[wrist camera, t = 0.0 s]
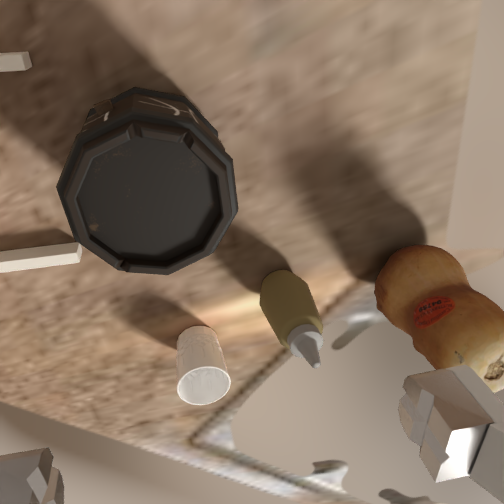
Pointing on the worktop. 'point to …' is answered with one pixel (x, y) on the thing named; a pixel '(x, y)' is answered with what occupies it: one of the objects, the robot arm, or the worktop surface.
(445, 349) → the butternut squash
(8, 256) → the bay
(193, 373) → the white cup
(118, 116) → the black short wide cylinder
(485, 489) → the robot arm
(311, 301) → the squeeze bottle
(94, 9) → the worktop surface
